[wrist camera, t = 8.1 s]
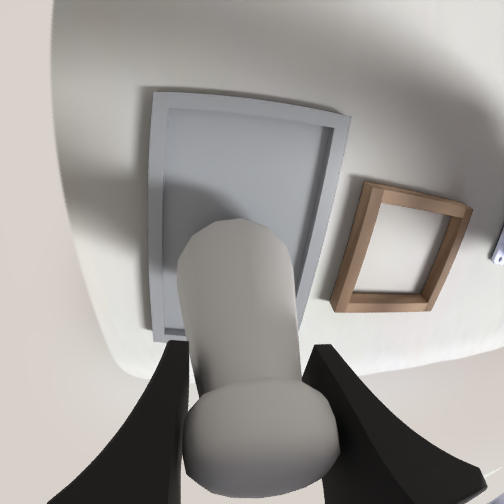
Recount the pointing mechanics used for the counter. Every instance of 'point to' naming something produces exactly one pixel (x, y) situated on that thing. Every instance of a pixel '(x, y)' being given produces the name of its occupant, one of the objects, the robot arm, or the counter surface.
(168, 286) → the grey tray
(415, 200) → the walnut collar
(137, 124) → the counter surface
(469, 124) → the counter surface
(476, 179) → the counter surface
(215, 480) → the salt shaker
